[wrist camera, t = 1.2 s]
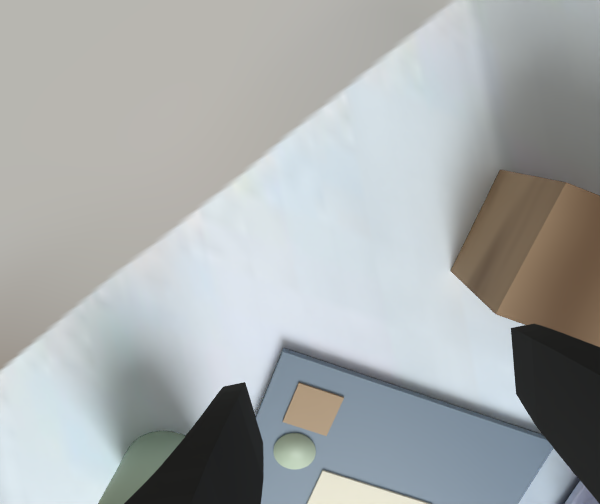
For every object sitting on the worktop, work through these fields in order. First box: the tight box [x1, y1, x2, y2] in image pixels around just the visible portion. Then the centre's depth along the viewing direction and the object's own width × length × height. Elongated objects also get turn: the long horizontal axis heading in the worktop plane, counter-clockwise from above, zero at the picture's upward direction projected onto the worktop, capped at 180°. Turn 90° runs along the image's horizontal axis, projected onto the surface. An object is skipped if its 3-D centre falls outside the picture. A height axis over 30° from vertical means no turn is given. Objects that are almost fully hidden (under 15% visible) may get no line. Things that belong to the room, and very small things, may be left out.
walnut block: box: [451, 170, 600, 347], centre depth 17 cm, size 5×5×5 cm
